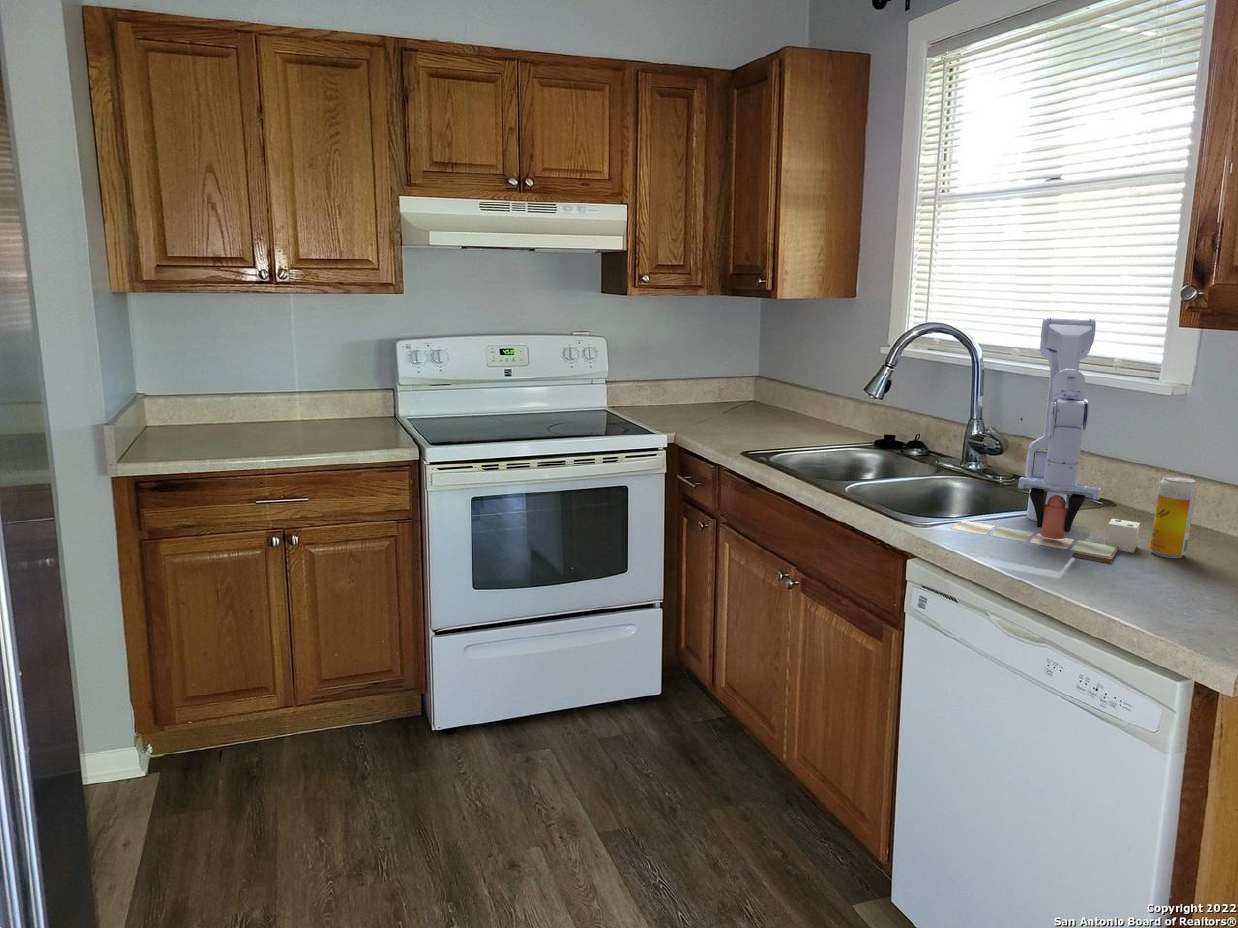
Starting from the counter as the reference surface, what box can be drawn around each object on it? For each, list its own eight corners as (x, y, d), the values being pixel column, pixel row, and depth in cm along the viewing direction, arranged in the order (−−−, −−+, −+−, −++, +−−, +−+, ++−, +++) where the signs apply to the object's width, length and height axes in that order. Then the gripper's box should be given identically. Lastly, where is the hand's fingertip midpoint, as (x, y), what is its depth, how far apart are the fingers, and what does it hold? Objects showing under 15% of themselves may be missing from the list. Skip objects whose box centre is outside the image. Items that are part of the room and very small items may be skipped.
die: (1108, 542, 189) (1112, 518, 187) (1136, 547, 186) (1140, 522, 185) (1104, 547, 185) (1108, 523, 183) (1133, 552, 182) (1137, 527, 181)
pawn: (1042, 531, 187) (1047, 491, 185) (1066, 535, 185) (1071, 495, 183) (1038, 536, 183) (1043, 495, 182) (1062, 540, 181) (1067, 499, 179)
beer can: (1152, 547, 185) (1164, 474, 182) (1187, 554, 182) (1200, 479, 178) (1146, 554, 181) (1158, 478, 178) (1182, 561, 177) (1194, 484, 174)
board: (961, 523, 199) (961, 519, 199) (1118, 550, 182) (1119, 546, 182) (947, 533, 191) (948, 529, 191) (1110, 563, 174) (1111, 558, 174)
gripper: (1018, 459, 182) (1010, 526, 185) (1100, 470, 174) (1090, 540, 177) (1026, 453, 187) (1018, 519, 190) (1106, 464, 179) (1096, 532, 182)
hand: (1053, 528), depth 184 cm, fingers closed on pawn, 4 cm apart
